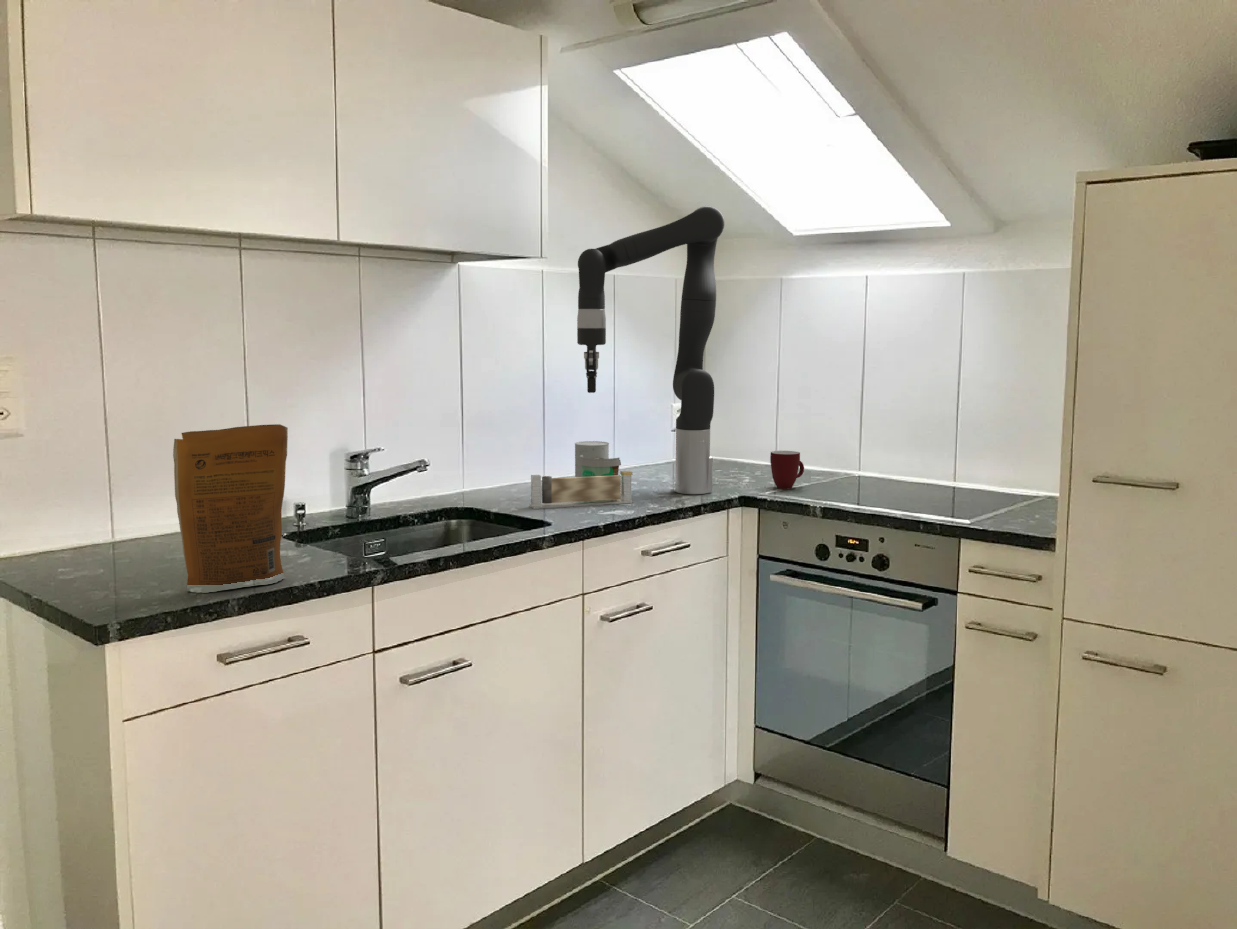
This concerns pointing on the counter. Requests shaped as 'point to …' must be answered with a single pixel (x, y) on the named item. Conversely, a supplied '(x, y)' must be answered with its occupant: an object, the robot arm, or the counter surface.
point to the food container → (599, 466)
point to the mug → (785, 468)
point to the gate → (580, 489)
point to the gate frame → (537, 501)
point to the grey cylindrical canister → (590, 452)
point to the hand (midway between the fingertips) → (591, 392)
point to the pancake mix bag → (231, 502)
